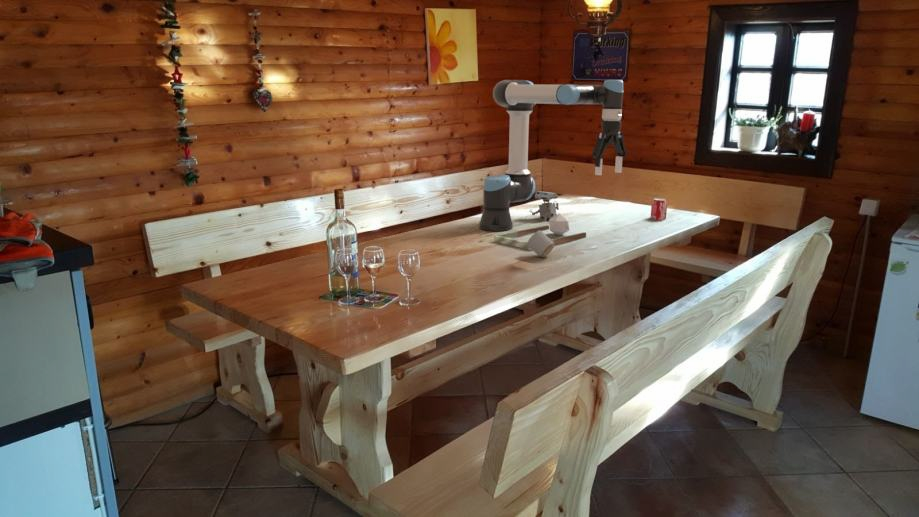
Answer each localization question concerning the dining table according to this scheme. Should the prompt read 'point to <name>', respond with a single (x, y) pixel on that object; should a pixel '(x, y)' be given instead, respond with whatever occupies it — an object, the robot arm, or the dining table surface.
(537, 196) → the figurine
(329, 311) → the dining table surface
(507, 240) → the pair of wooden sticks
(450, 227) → the dining table surface
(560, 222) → the die
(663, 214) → the soda can
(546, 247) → the ceramic mug
